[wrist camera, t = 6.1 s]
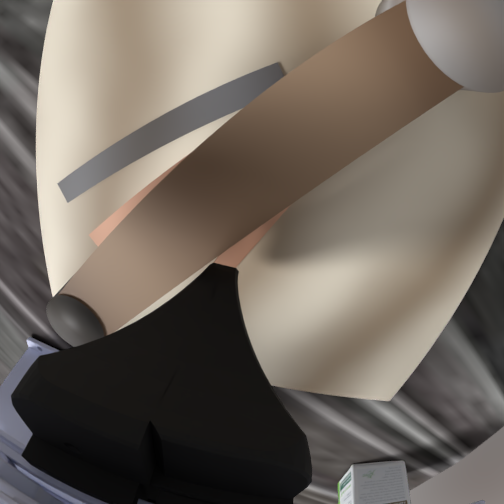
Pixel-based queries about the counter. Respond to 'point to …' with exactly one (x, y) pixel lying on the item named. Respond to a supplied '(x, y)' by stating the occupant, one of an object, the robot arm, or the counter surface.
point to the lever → (284, 152)
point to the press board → (294, 216)
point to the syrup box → (375, 484)
